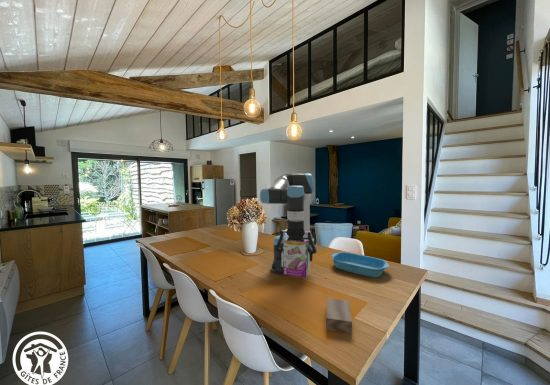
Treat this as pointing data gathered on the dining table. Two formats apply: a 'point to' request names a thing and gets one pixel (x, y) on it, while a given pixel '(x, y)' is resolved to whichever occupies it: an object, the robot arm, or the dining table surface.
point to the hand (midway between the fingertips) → (295, 266)
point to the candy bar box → (295, 258)
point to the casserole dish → (359, 264)
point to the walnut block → (338, 316)
